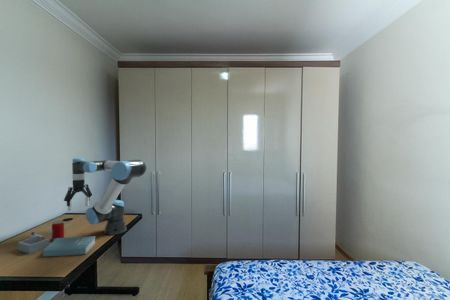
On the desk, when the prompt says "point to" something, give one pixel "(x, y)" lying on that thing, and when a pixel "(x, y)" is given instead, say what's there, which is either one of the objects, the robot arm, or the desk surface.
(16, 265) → the desk surface
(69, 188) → the robot arm
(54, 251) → the book
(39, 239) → the gate bar
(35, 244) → the tray
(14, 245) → the desk surface
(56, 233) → the beverage can
